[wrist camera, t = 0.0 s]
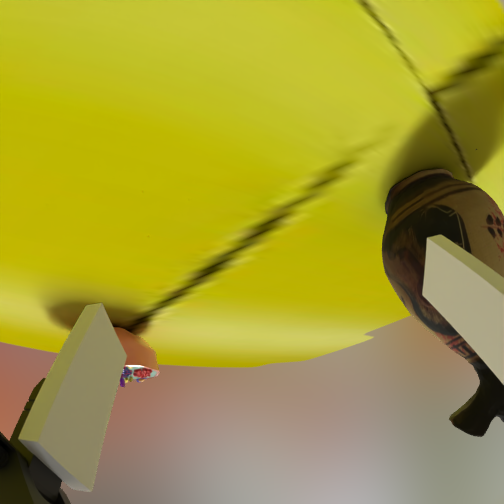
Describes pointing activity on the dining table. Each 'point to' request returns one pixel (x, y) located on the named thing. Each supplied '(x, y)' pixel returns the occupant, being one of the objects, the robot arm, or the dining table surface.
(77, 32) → the dining table surface
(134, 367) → the cell model
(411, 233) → the ceramic jug
